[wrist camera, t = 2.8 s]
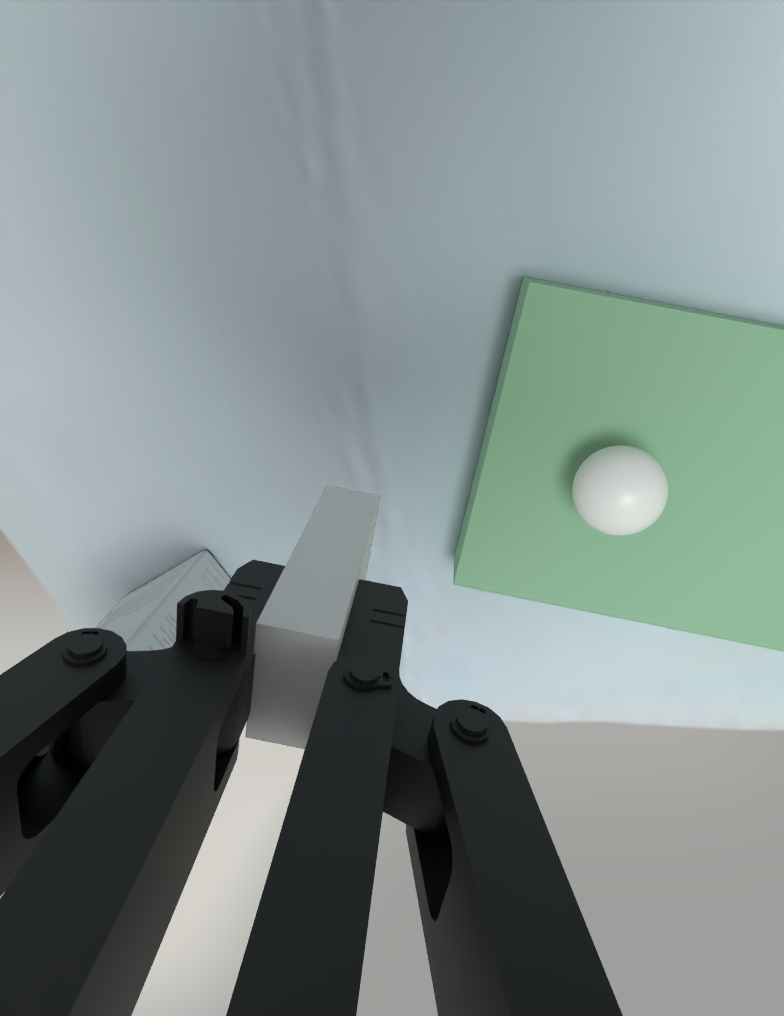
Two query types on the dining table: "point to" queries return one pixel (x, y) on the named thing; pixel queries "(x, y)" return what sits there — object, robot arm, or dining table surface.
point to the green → (654, 429)
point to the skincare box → (162, 603)
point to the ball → (620, 490)
